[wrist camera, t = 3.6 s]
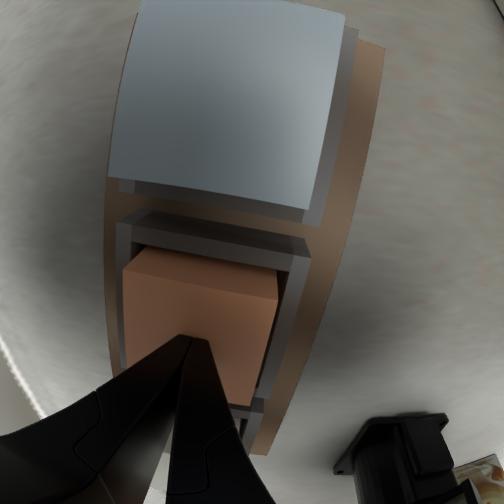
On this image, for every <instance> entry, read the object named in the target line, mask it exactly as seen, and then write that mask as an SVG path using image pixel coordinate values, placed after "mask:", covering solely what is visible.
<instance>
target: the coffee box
mask: <svg viewBox="0 0 504 504" xmlns="http://www.w3.org/2000/svg"><path fill="white" fill-rule="evenodd" d="M453 472H454V475H455V477H456V480H457V482H458V485H459V484H461V483H460V482H462V481H464V480H465V479H467V478H468V477H469V478H470V480H471V481H472V482H473V484H474V485H475V487H476V488H477V490H478V492H479V495H480V497H481V500H482V502H483V504H504V471H503V469H502V466H501V464H500V462H499V460H498V458H497V456H496V454H494V455H491V456H489V457H486V458H484V459H481V460H478V461H476V462H473V463H470V464H467V465H464V466H461V467H458V468H455V469H453Z"/></svg>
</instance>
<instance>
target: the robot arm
mask: <svg viewBox="0 0 504 504" xmlns="http://www.w3.org/2000/svg"><path fill="white" fill-rule="evenodd" d="M448 422H449V419H448V417H447V416H446V415H437V416H426V417H412V418H388V419H373V420H370V421H369V422H367V423H366V425H365V426H364V428H363V429H362V431H361V432H360V433H359V435H358V436H357V438H356V439H355V440H354V442H353V443H352V444H351V446H350V447H349V448H348V450H347V451H346V452H345V454H344V455H343V456H342V458H341V459H340V460H339V461H338V463H337V464H336V465H335V467H334V468H333V473H334V475H353V476H354V481H355V487H356V492H357V498H358V504H483V502H482V500H481V497H480V495H479V492H478V490H477V488H476V487H475V485H474V484H473V482H472V481H471V480H470V478H469V477H468V478H467V479H465V480H464V481H462V482H460V483H461V484H459V485H458V482H457V480H456V477H455V475H454V472H453V469H452V468H453V467H454V462H453V459H452V457H451V454H450V452H449V450H448V447H447V445H446V443H445V441H444V438H443V436H442V434H441V431H442V429H443V428H444V427H445V426H446V424H447V423H448ZM173 425H174V427H173ZM172 428H173V435H172V443H171V452H170V461H169V471H168V481H167V492H166V503H165V504H276V503H275V502H274V500H273V498H272V497H271V495H270V494H269V492H268V490H267V489H266V487H265V485H264V484H263V482H262V480H261V479H260V477H259V475H258V474H257V472H256V470H255V468H254V466H253V464H252V463H251V461H250V459H249V457H248V455H247V452H246V450H245V448H244V445H243V443H242V440H241V438H240V435H239V432H238V429H237V427H236V424H235V421H234V418H233V415H232V413H231V410H230V407H229V404H228V401H227V398H226V395H225V392H224V388H223V385H222V382H221V379H220V376H219V373H218V370H217V366H216V363H215V360H214V357H213V353H212V350H211V347H210V343H209V341H208V340H207V339H202V338H197V337H195V338H193V337H192V336H188V335H183V334H178V335H176V336H175V337H173V338H172V339H170V340H169V341H167V342H166V343H164V344H163V345H162V346H160V347H159V348H157V349H156V350H154V351H153V352H151V353H150V354H148V355H147V356H145V357H144V358H142V359H141V360H139V361H138V362H136V363H135V364H133V365H132V366H130V367H129V368H127V369H126V370H124V371H123V372H121V373H120V374H118V375H117V376H115V377H114V378H112V379H111V380H109V381H108V382H106V383H105V384H103V385H102V386H100V387H99V388H97V389H96V392H95V391H92V392H91V393H89V394H88V395H86V396H85V397H83V398H82V399H80V400H78V401H77V402H75V403H73V404H72V405H70V406H68V407H66V408H64V409H62V410H60V411H58V412H56V413H55V414H53V415H50V416H48V417H46V418H44V419H42V420H40V421H38V422H35V423H33V424H31V425H29V426H26V427H24V428H22V429H20V430H18V431H16V432H13V433H10V434H6V435H3V436H0V504H143V502H144V500H145V497H146V494H147V492H148V489H149V487H150V484H151V481H152V479H153V476H154V474H155V471H156V469H157V466H158V464H159V461H160V458H161V456H162V453H163V451H164V448H165V446H166V443H167V441H168V438H169V435H170V433H171V430H172Z"/></svg>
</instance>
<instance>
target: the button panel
mask: <svg viewBox="0 0 504 504" xmlns="http://www.w3.org/2000/svg"><path fill="white" fill-rule="evenodd" d="M137 16H138V13H137ZM137 16H136V19H135V23H136V20H137ZM135 23H134V26H133V30H134V27H135ZM133 30H132V33H131V37H132V34H133ZM358 31H359V30H357V29H354V28H351V27H347V26H344V29H343V35H342V42H341V48H340V54H339V60H338V66H337V72H336V77H335V83H334V89H333V94H332V99H331V105H330V110H329V115H328V120H327V125H326V130H325V135H324V140H323V145H322V150H321V155H320V160H319V164H318V169H317V174H316V178H315V183H314V187H313V192H312V196H311V201H310V205H309V209H308V210H306V209H301V208H296V207H292V206H287V205H282V204H277V203H271V202H266V201H261V200H256V199H250V198H245V197H240V196H234V195H228V194H223V193H217V192H211V191H205V190H199V189H193V188H187V187H180V186H174V185H167V184H160V183H154V182H147V181H139V180H132V179H124V178H117V177H109V176H108V169H109V159H110V150H111V142H112V134H113V127H114V120H115V113H116V107H117V101H118V96H119V90H120V85H121V80H122V75H123V71H124V66H125V62H126V57H127V53H128V49H129V45H130V41H131V37H130V41H129V45H128V49H127V53H126V57H125V61H124V66H123V70H122V75H121V80H120V85H119V90H118V95H117V101H116V107H115V113H114V119H113V126H112V133H111V141H110V149H109V158H108V168H107V180H106V194H105V214H104V286H105V305H106V319H107V331H108V341H109V350H110V359H111V366H112V374H113V378H114V377H115V376H117V375H118V374H120V373H121V372H123V371H124V370H126V369H127V362H126V350H125V335H124V314H123V269H124V268H125V267H126V266H127V265H128V264H129V263H130V262H131V261H132V260H133V259H134V258H135V257H136V256H137V255H138V254H139V253H140V252H141V251H142V250H143V249H144V248H145V247H147V246H148V245H151V246H156V247H162V248H167V249H172V250H177V251H182V252H187V253H192V254H198V255H203V256H208V257H213V258H219V259H224V260H229V261H234V262H240V263H245V264H251V265H256V266H261V267H267V268H272V269H276V272H277V287H278V304H277V308H276V312H275V315H274V319H273V323H272V327H271V331H270V334H269V338H268V342H267V346H266V349H265V353H264V357H263V360H262V364H261V368H260V371H259V375H258V378H257V382H256V385H255V389H254V392H253V396H252V399H251V403H250V406H245V405H238V404H232V403H228V404H229V407H230V410H231V413H232V415H233V417H237V418H240V428H239V435H240V438H241V440H242V443H243V445H244V448H245V450H246V452H247V455H248V456H249V454H257V455H266V456H267V454H268V452H269V449H270V447H271V445H272V443H273V441H274V438H275V436H276V434H277V432H278V429H279V427H280V425H281V423H282V420H283V418H284V416H285V413H286V411H287V408H288V406H289V404H290V401H291V399H292V396H293V394H294V391H295V389H296V386H297V384H298V381H299V379H300V376H301V374H302V371H303V369H304V366H305V363H306V361H307V358H308V355H309V353H310V350H311V347H312V344H313V342H314V339H315V336H316V333H317V330H318V327H319V325H320V322H321V319H322V316H323V313H324V310H325V307H326V304H327V301H328V298H329V295H330V292H331V288H332V285H333V282H334V279H335V276H336V272H337V269H338V266H339V262H340V259H341V256H342V252H343V249H344V245H345V242H346V238H347V234H348V231H349V227H350V223H351V220H352V216H353V212H354V208H355V204H356V200H357V196H358V192H359V188H360V184H361V180H362V175H363V171H364V167H365V162H366V158H367V153H368V148H369V143H370V138H371V133H372V128H373V123H374V118H375V112H376V107H377V101H378V95H379V89H380V82H381V76H382V69H383V62H384V54H385V48H383V47H380V46H377V45H374V44H371V43H368V42H365V41H362V40H359V39H357V38H358Z"/></svg>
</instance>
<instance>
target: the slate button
mask: <svg viewBox="0 0 504 504" xmlns="http://www.w3.org/2000/svg"><path fill="white" fill-rule="evenodd" d="M344 22H345V15H343V14H340V13H336V12H332V11H329V10H325V9H320V8H316V7H312V6H307V5H303V4H298V3H293V2H287V1H281V0H142V3H141V6H140V10H139V13H138V16H137V20H136V23H135V27H134V30H133V34H132V37H131V41H130V45H129V49H128V53H127V57H126V62H125V66H124V71H123V75H122V80H121V85H120V90H119V96H118V101H117V107H116V113H115V120H114V127H113V134H112V142H111V150H110V159H109V169H108V176H109V177H117V178H124V179H132V180H139V181H147V182H154V183H160V184H167V185H174V186H180V187H187V188H193V189H199V190H205V191H211V192H217V193H223V194H228V195H234V196H240V197H245V198H250V199H256V200H261V201H266V202H271V203H277V204H282V205H287V206H292V207H296V208H301V209H306V210H308V209H309V205H310V201H311V196H312V192H313V187H314V183H315V178H316V174H317V169H318V164H319V160H320V155H321V150H322V145H323V140H324V135H325V130H326V125H327V120H328V115H329V110H330V105H331V99H332V94H333V89H334V83H335V77H336V72H337V66H338V60H339V54H340V48H341V42H342V35H343V29H344Z"/></svg>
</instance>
